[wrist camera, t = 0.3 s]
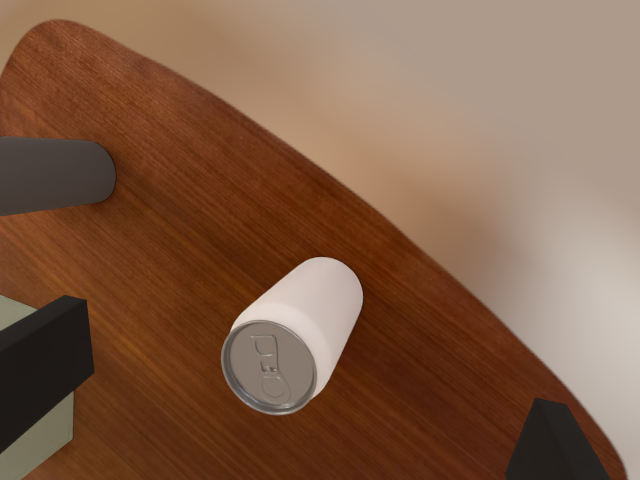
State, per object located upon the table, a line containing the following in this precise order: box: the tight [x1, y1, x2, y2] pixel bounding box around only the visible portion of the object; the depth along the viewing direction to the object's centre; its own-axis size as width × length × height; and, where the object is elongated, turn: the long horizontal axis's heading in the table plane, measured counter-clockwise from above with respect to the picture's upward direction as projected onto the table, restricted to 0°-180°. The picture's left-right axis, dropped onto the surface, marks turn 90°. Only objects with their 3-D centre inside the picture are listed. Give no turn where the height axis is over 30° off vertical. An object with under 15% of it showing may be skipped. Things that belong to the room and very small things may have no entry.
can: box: [221, 257, 363, 415], centre depth 26 cm, size 6×6×12 cm
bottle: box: [0, 136, 116, 216], centre depth 29 cm, size 6×6×15 cm
